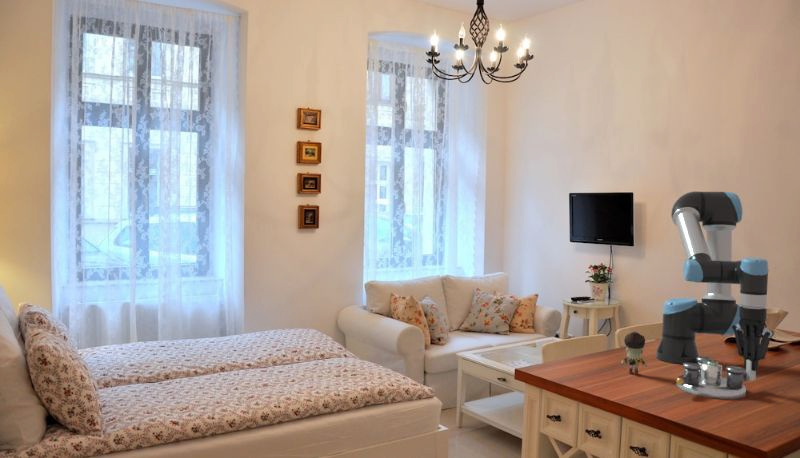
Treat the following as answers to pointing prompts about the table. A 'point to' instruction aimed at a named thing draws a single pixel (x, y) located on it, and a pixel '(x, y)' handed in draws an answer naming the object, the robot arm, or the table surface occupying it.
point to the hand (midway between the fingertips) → (750, 379)
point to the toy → (634, 350)
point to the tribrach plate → (714, 390)
